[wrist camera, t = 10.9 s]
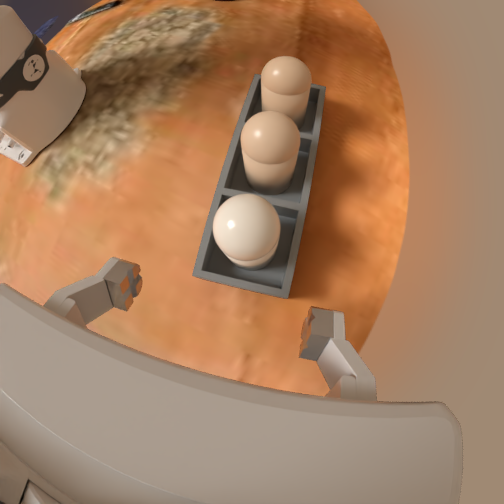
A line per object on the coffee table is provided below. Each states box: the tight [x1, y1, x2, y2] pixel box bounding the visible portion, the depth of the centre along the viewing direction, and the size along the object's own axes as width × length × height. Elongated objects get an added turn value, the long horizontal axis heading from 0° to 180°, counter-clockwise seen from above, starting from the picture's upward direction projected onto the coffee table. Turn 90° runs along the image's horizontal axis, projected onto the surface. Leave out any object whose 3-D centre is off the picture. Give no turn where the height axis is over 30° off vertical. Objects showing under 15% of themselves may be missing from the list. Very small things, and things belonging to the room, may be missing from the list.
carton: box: [192, 56, 326, 299], centre depth 21 cm, size 8×22×9 cm, turn 166°
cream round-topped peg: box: [213, 194, 280, 271], centre depth 20 cm, size 4×4×8 cm
